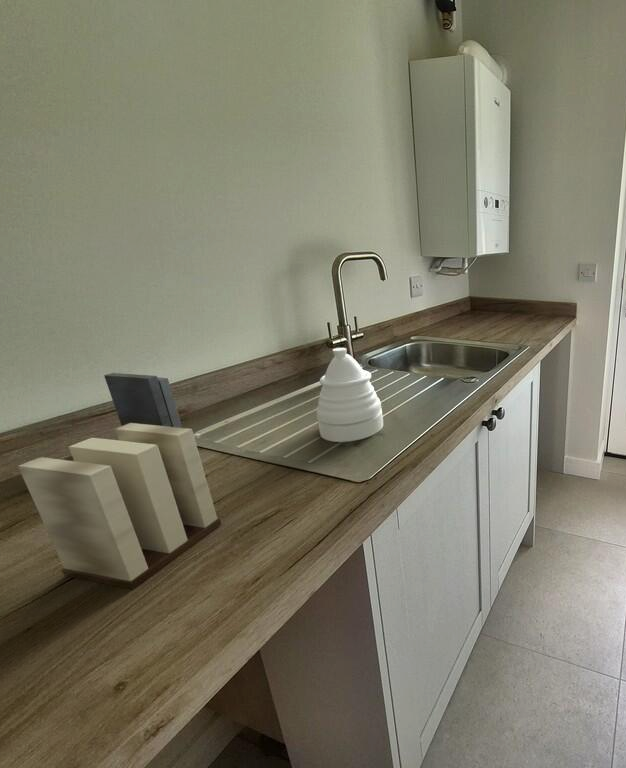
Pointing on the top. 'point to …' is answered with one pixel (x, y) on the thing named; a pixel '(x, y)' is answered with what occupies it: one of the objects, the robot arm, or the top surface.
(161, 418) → the grey book stand
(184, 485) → the cream book stand
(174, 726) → the top surface
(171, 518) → the cream book
